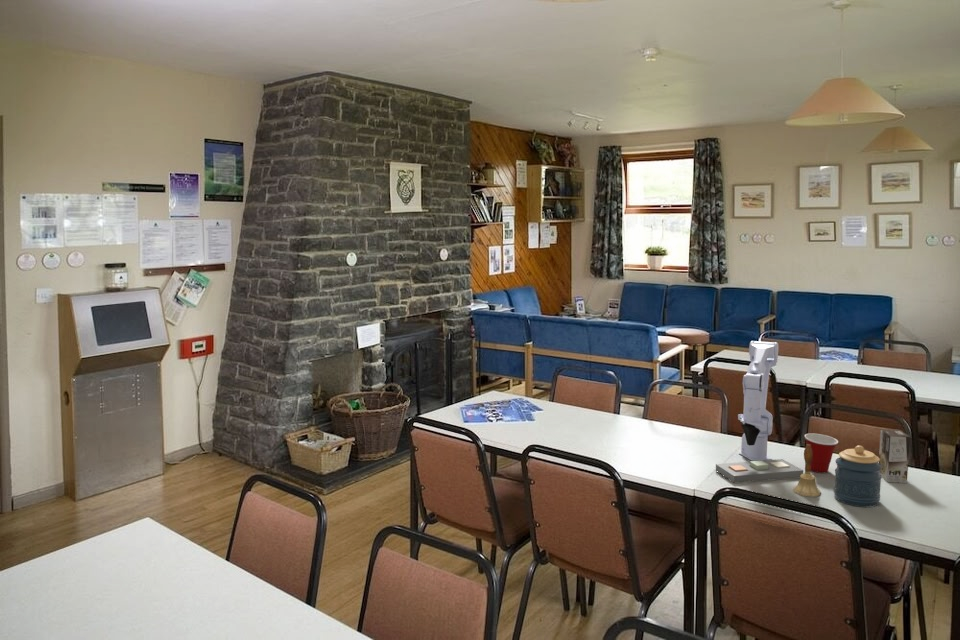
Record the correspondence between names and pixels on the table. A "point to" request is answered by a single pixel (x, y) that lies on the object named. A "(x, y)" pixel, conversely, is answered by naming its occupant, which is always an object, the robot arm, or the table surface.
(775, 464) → the cream key
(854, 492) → the canister
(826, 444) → the plastic cup
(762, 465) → the sage key
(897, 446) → the coffee box
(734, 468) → the terracotta key
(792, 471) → the keypad
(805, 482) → the hand bell
